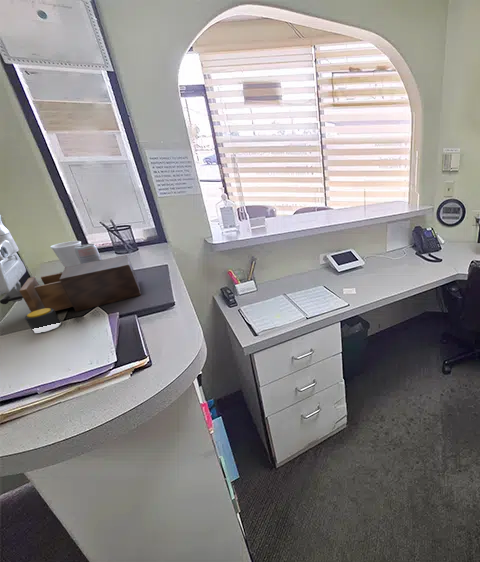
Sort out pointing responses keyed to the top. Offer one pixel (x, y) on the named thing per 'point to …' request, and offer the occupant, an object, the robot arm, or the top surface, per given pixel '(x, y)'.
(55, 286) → the drawer
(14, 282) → the robot arm
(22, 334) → the top surface
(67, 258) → the dixie cup
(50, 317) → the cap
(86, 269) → the cabinet
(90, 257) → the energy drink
